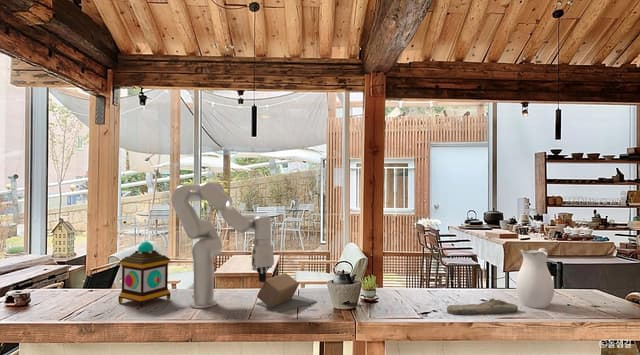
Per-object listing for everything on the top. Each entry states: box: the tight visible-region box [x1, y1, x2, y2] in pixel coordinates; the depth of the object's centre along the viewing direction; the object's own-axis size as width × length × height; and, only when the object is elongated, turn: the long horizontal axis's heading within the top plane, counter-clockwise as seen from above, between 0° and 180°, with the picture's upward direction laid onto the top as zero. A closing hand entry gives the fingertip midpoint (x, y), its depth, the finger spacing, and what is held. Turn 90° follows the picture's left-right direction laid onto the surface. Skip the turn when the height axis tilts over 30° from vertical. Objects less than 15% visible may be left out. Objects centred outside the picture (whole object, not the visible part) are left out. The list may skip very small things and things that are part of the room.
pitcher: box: [515, 247, 555, 309], centre depth 209 cm, size 24×17×28 cm
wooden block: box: [256, 272, 300, 308], centre depth 204 cm, size 10×10×20 cm
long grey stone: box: [446, 297, 519, 315], centre depth 195 cm, size 35×5×10 cm
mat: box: [256, 294, 318, 313], centre depth 205 cm, size 18×24×1 cm
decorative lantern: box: [117, 240, 171, 309], centre depth 206 cm, size 20×20×30 cm
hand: (262, 281), depth 194 cm, fingers closed
